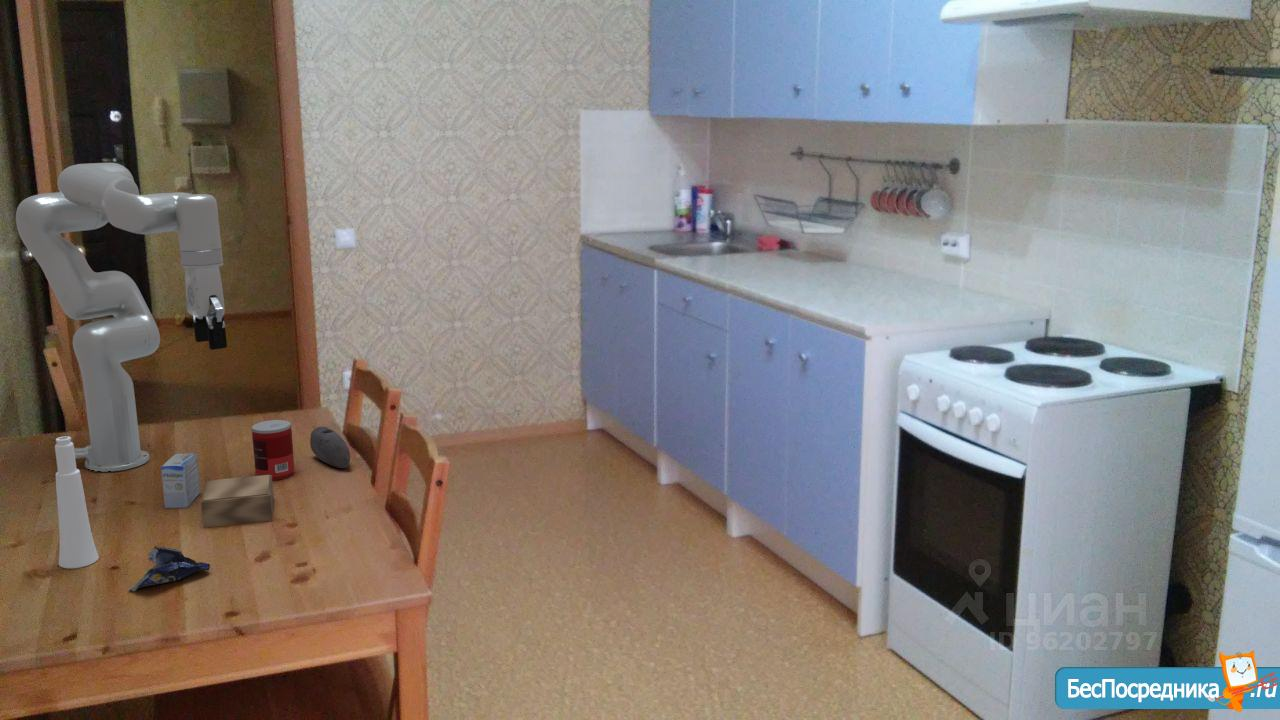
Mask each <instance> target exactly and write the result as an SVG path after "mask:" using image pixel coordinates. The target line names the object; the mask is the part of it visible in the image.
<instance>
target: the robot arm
mask: <svg viewBox="0 0 1280 720" xmlns="http://www.w3.org/2000/svg"><path fill="white" fill-rule="evenodd" d="M134 179H135V178H134V176H133V175H132V173H131V171H130V170H129V169H128V168H126V167H125V166H124V165H122V164H120V163H116V162H95V163H93V162H92V163H78V164H73V165H70V166H68V167H66V168H64V169H63V170H62V171H61V172H60V174H59V176H58V178H57V188H58V191H59V192H58V191H56V192H45V193H38V194H34V195H31V196H28V197H27V198H24V199H23V200H22V201H21V202H20V203H19V204H18V207H16V208H17V209H16V212H15V213H16V214H15V224H16V228H17V232H18V235H19V237H20V239H21V240H22V243H23V245H24V246H25V247H26V249H27V250H28V252H29V253H30V255H32V256H33V258H34V259H35V261H36V262H37V264H38V265H39V266H40V268H41V270H42V272H43V273H44V276H45V278H46V280H47V281H48V284H49V286H50V288H51V290H52V292H53V294H54V296H55V298H56V300H57V302H58V305H60V307H61V309H62V311H63V313H64V314H65V315H66V316H67V317H68V318H70V319H72V320H75V321H76V320H77V321H83V320H90V319H91V320H92V319H97V318H102V317H107V316H108V317H109V316H113V317H110V318H106V319H100V320H96V321H91V322H88V323H85V324H83V325H82V326H81V327H78V329H77V330H76V331H75V333H73V334H74V335H73V336H72V347H73V350H74V351H73V352H74V354H75V357H76V359H77V362H78V365H79V369H80V374H81V375H80V376H81V380H82V385H83V393H84V400H85V409H86V417H87V425H88V433H89V442H90V444H89V445H86V446H85V447H74V452H75V460H76V459H77V460H78V459H79V460H80V459H85V461H84V467H85V469H87V468H88V469H90V470H89V471H91V470H94V471H93V472H97V471H101V472H102V473H106V472H107V473H108V471H111V472H121V471H126V470H130V469H134V468H137V467H140V466H142V465H144V464H146V463H147V462H149V460H150V454H149V452H147V451H145V450H141V443H140V432H139V424H138V415H137V407H136V406H137V405H136V398H135V389H134V383H133V382H134V381H133V380H132V378H131V376H130V375H129V373H128V372H127V371H126V370H125V369H124V367H122V364H121V363H124V362H126V361H131V360H135V359H136V360H137V359H140V358H143V357H147V356H150V355H152V354H154V353H155V352H157V350H158V348H159V346H160V343H161V335H160V331H159V328H158V326H157V323H156V320H155V319H154V317H153V315H152V312H151V311H150V308H149V307H148V305H147V303H146V301H145V299H144V297H143V295H142V293H141V291H140V289H139V287H138V285H137V284H136V282H135V280H133V278H131V276H129V275H128V274H127V273H125V272H122V271H119V270H107V271H106V270H105V271H101V272H95V271H93V269H92V267H90V265H89V264H88V262H87V259H86V257H85V255H84V254H83V252H82V251H81V250H80V249H79V248H78V247H77V246H76V245H75V244H73V242H71V241H69V240H68V239H66V238H65V237H63V236H62V235H61V234H63V233H74V232H75V233H76V232H82V231H83V232H84V231H91V230H92V231H93V230H97V229H100V228H102V227H104V226H106V224H108V223H109V224H110V225H112V226H113V227H114V228H116V229H120V230H122V231H126V232H129V233H133V234H136V235H153V234H162V233H169V232H171V233H172V232H177V236H178V237H177V238H178V243H179V253H180V263H181V268H183V269H184V283H185V287H184V288H185V298H186V300H185V301H186V311H187V313H188V314H189V315H191V316H192V319H193V331H194V338H195V339H194V341H195V342H196V343H203V342H208V346H209V347H208V348H209V350H211V351H212V350H213V351H214V350H221V349H226V348H227V347H228V341H227V333H226V331H227V330H226V324H225V319H224V318H225V317H224V316H225V313H226V312H225V309H226V308H225V299H224V291H223V284H222V276H221V271H220V267H221V266H224V259H223V257H224V256H223V249H222V247H223V246H222V239H221V230H220V220H219V211H218V209H219V208H218V203H217V199H216V198H215V196H213V195H212V194H207V193H206V194H204V193H197V194H196V193H195V194H193V193H188V192H182V191H181V192H179V191H178V192H175V191H174V192H161V193H149V194H140V191H139V187H138V185H137V184H136V182H135V180H134ZM88 469H87V470H88ZM101 472H100V473H101Z"/></svg>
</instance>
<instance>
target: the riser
mask: <svg viewBox="0 0 1280 720" xmlns="http://www.w3.org/2000/svg"><path fill="white" fill-rule="evenodd" d="M274 501H275V499H274V485H273V481H272V475H262V476H257V475H253V476H243V477H242V476H241V477H240V476H239V477H232V478H221V479H211V480H206V482H205V486H204V490H203V494H202V498H201V502H200V504H201V505H200V506H201V514H202V525H203V529H204V528H205V529H206V528H213V527H224V526H234V525H241V524H251V523H259V522H260V523H261V522H270V521H271V522H272V521H273V519H274V518H273V514H274Z"/></svg>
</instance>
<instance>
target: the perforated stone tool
mask: <svg viewBox="0 0 1280 720" xmlns="http://www.w3.org/2000/svg"><path fill="white" fill-rule="evenodd" d="M309 440H310V441H309V442H310V445H309V446H310V449H311V451H312V453H313V454H314V455H315V456H316V457H317V458H318V460H320V461H322V462H323V463H326V464H327V465H330V466H332V467H334V468H338V469H346V468H347V467H348V466H349V465H350V462H351V452H350V449H349V446H348V444H347V442H345V440H344V438H342V437H341V436H340V435H339V434H338V433H337V432H336V431H335V430H333V429H330V428H329V427H325V426H319V427H316V428H314V429H313V430H312V431H311V433H310V439H309Z"/></svg>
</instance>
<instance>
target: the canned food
mask: <svg viewBox="0 0 1280 720" xmlns="http://www.w3.org/2000/svg"><path fill="white" fill-rule="evenodd" d="M292 432H293V431H292V424H291V422H290V421H288V420H284V419H283V420H282V419H272V420H264V421H261V422H257V423H255V424H253V425H252V426H251V436H252V437H251V439H252V447H253V460H254V468H255V476H262V475H272V482H273V481H279V480H283V479H287V478H289V477H291V476H293V475H294V471H295V459H294V448H293V447H294V445H293V433H292Z"/></svg>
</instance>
